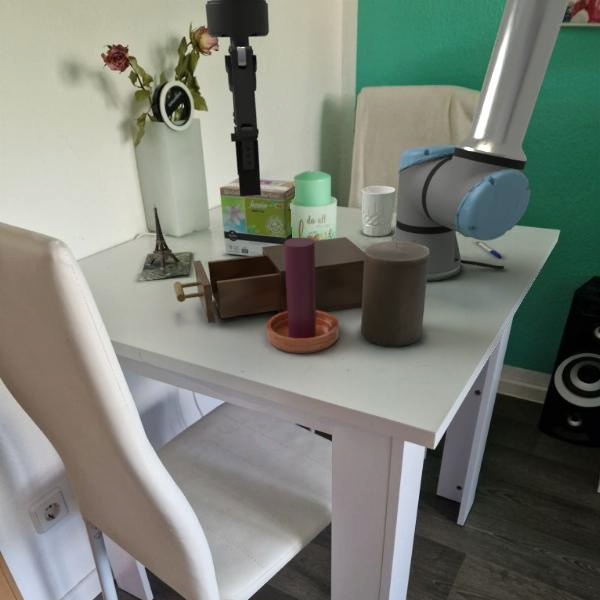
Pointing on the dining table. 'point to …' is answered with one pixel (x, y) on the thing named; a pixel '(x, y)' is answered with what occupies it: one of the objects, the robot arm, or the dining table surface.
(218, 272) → the drawer
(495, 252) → the ballpoint pen
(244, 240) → the tea box
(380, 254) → the pillar candle
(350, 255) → the cabinet
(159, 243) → the eiffel tower figurine
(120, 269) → the dining table surface
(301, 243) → the dark purple cylinder
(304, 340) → the saucer
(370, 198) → the white cup
